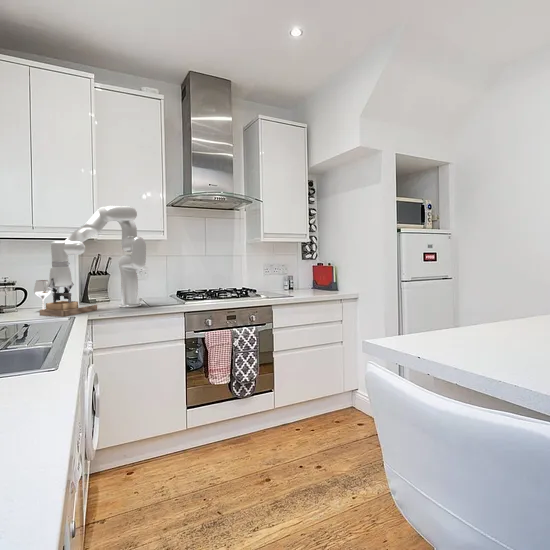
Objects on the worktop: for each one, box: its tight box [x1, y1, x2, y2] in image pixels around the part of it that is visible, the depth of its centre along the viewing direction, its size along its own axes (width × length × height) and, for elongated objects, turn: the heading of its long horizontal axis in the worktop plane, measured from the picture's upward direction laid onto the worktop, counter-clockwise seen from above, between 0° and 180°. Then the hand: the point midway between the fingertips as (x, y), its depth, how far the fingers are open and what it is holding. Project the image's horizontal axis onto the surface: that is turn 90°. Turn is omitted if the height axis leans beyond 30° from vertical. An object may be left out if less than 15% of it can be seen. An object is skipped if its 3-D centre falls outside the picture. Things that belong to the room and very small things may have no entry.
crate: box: [45, 292, 79, 311], centre depth 195 cm, size 10×11×11 cm
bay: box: [39, 304, 98, 318], centre depth 200 cm, size 22×16×4 cm
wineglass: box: [33, 279, 52, 309], centre depth 207 cm, size 8×8×18 cm
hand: (62, 299), depth 195 cm, fingers open, 4 cm apart
